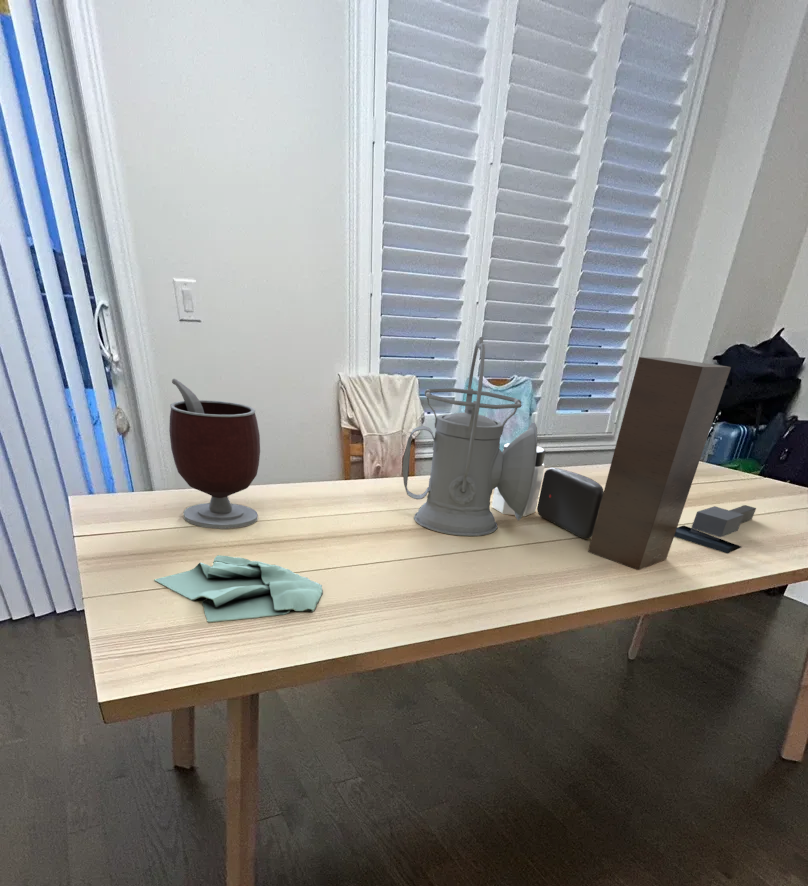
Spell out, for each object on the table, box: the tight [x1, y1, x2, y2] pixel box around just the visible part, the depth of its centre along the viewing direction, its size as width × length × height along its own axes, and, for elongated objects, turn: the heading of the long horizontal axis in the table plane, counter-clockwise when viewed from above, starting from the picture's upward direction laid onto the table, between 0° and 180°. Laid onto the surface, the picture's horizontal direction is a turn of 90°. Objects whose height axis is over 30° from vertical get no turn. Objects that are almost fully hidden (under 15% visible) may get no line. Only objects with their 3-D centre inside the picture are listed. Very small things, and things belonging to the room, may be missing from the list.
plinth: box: [587, 356, 732, 571], centre depth 103 cm, size 10×10×30 cm
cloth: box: [153, 554, 324, 623], centre depth 85 cm, size 20×22×2 cm
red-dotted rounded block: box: [536, 467, 604, 540], centre depth 120 cm, size 16×5×9 cm, turn 26°
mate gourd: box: [169, 378, 261, 530], centre depth 103 cm, size 16×14×20 cm
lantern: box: [402, 336, 538, 537], centre depth 110 cm, size 21×22×30 cm
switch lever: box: [690, 504, 757, 541], centre depth 127 cm, size 20×6×4 cm, turn 134°
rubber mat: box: [674, 524, 742, 555], centre depth 126 cm, size 16×12×1 cm
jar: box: [491, 442, 546, 518], centre depth 126 cm, size 9×8×12 cm
